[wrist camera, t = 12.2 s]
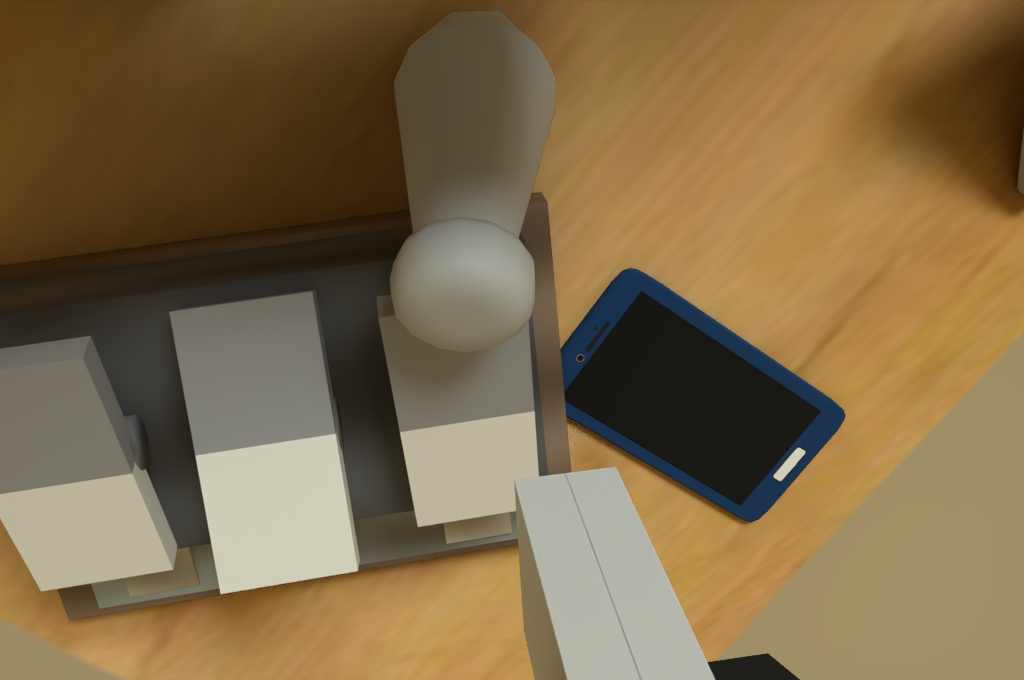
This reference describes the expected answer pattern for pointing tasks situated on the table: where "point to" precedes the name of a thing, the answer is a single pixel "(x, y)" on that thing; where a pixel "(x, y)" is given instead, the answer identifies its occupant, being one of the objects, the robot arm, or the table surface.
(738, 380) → the cell phone
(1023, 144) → the light switch
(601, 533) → the robot arm
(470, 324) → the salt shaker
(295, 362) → the middle rocker
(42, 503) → the left rocker
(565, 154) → the table surface
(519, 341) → the right rocker
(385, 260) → the switch console
